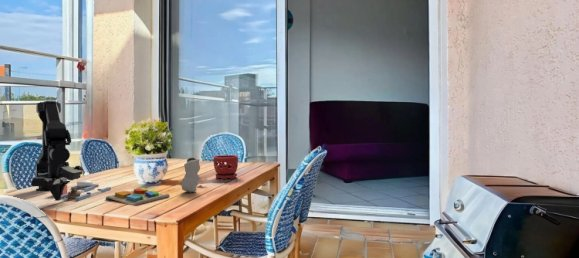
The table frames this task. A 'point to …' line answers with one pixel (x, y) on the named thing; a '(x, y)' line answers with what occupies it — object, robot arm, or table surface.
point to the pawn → (73, 194)
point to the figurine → (191, 175)
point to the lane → (87, 193)
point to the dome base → (83, 187)
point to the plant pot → (226, 166)
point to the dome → (85, 183)
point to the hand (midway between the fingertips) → (57, 200)
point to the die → (64, 190)
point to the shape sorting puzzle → (137, 196)
